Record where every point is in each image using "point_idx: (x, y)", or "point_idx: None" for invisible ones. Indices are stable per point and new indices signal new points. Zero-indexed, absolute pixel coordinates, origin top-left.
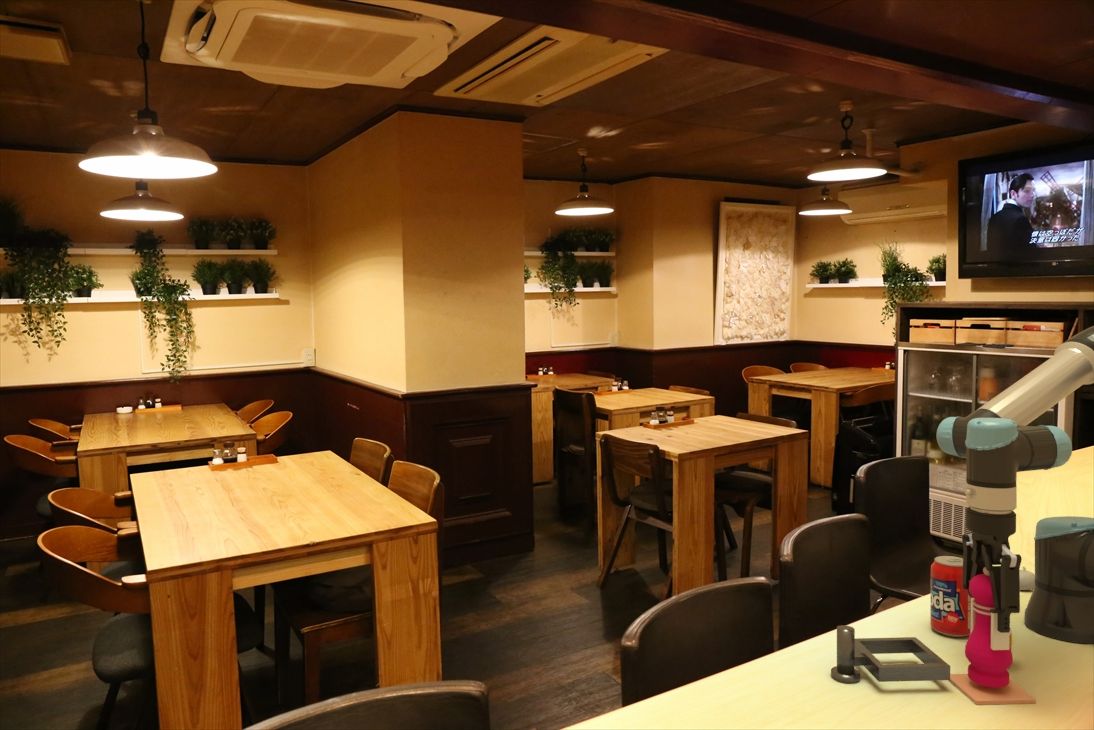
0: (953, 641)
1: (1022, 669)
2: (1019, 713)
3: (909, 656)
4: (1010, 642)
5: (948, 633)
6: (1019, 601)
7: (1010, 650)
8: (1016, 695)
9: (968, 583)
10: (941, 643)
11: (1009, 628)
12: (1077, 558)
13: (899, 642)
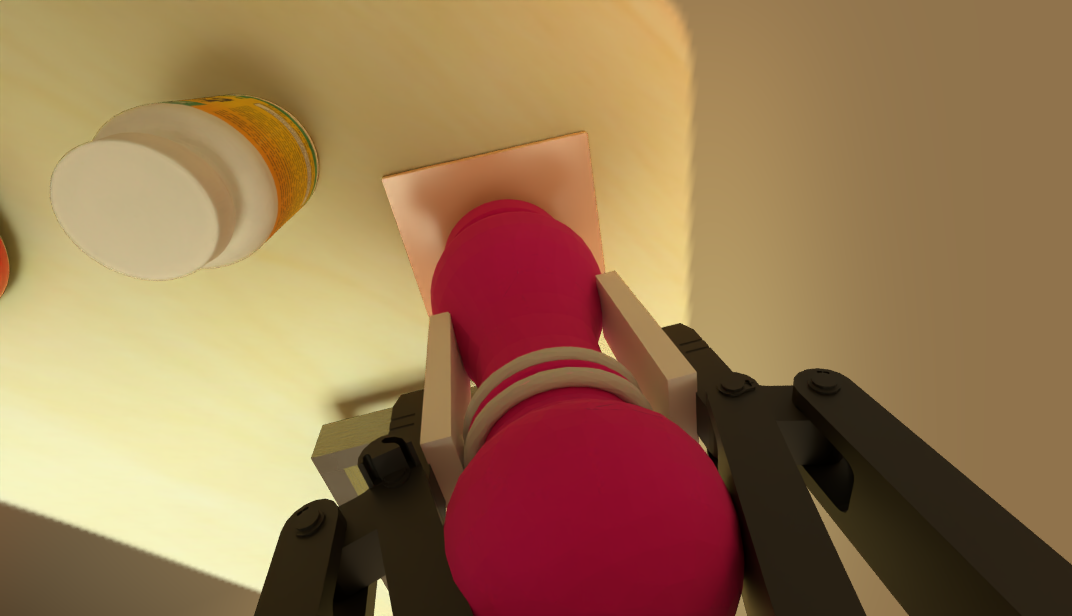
0: (54, 253)
1: (277, 55)
2: (650, 207)
3: (300, 412)
4: (250, 122)
5: (7, 273)
6: (902, 425)
7: (569, 245)
8: (561, 185)
9: (369, 598)
10: (110, 301)
11: (697, 336)
12: None
13: (361, 492)
